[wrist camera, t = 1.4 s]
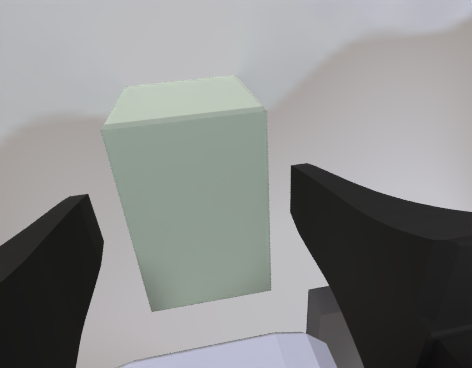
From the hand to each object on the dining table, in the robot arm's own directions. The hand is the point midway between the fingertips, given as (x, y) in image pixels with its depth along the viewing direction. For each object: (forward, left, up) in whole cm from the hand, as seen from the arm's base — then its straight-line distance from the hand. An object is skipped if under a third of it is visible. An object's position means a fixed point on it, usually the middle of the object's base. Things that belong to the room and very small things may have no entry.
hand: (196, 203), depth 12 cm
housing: (0, 0, -4) cm, 4 cm away
